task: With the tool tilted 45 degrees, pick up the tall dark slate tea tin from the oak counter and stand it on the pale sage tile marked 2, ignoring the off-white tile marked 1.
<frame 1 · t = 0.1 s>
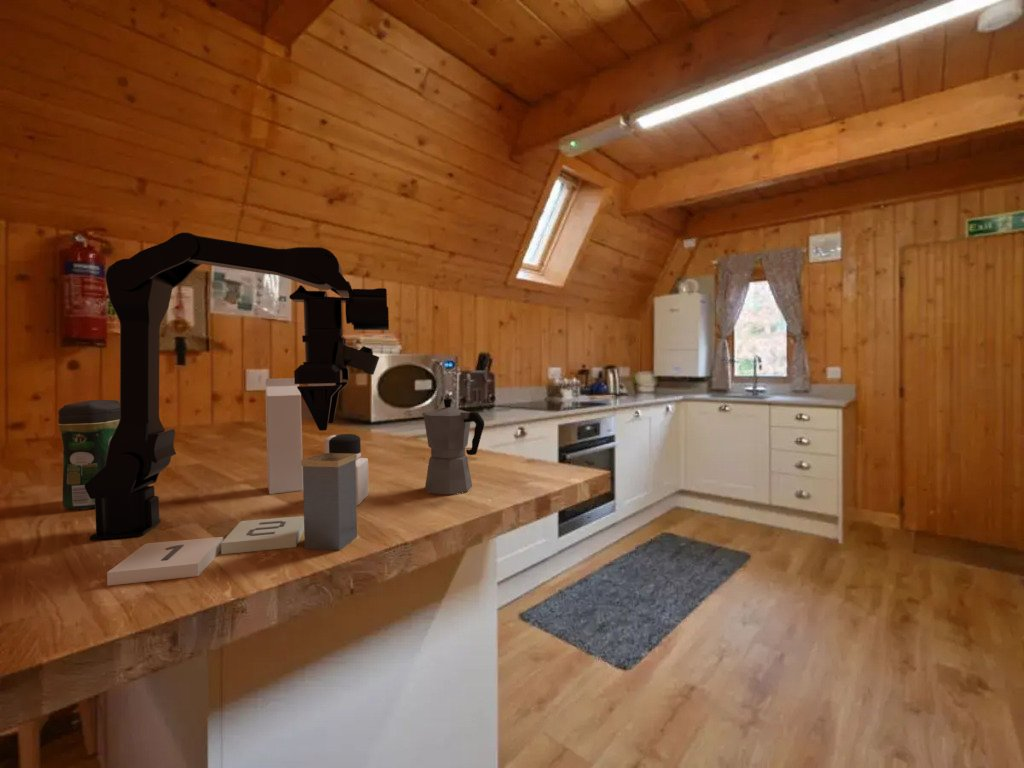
hand: (326, 426, 78), 15 cm above the table, tool pointing down, fingers open, 9 cm apart
tea tin: (331, 542, 66), on the table
milk: (285, 489, 95), on the table
coffeepot: (452, 490, 94), on the table
coffee jar: (97, 504, 86), on the table
tile 2: (267, 538, 68), on the table
tile 1: (170, 564, 59), on the table
medicine bottle: (344, 502, 87), on the table
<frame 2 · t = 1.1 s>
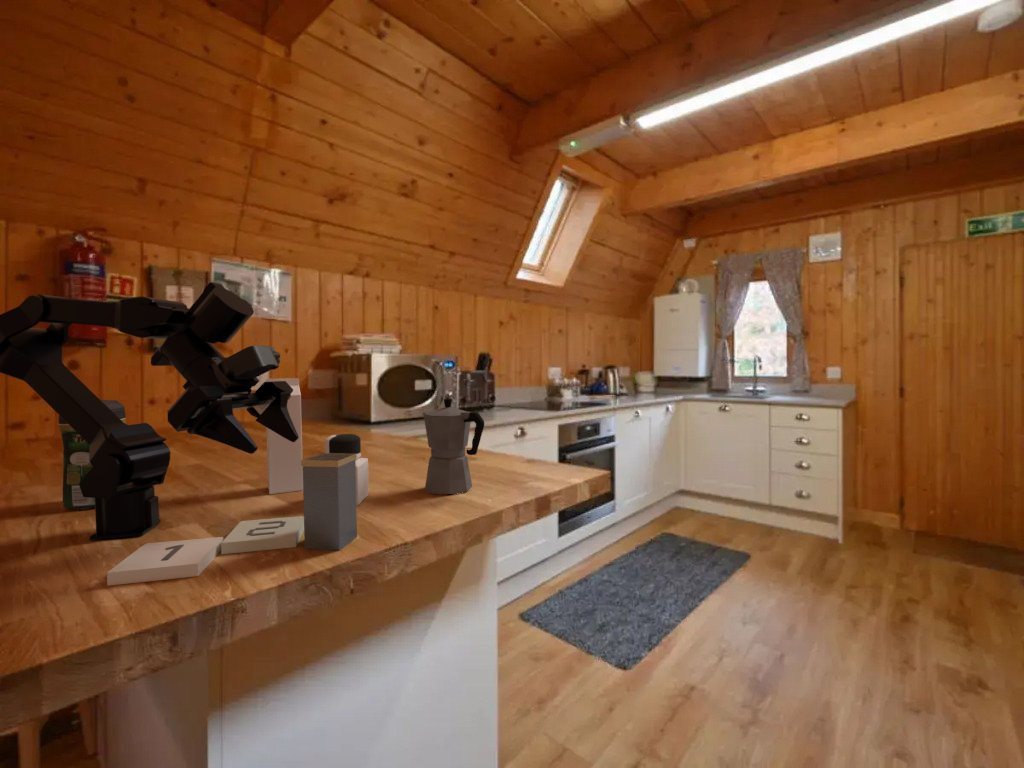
hand: (277, 445, 67), 13 cm above the table, tool tilted 45°, fingers open, 9 cm apart
nothing on the table moved.
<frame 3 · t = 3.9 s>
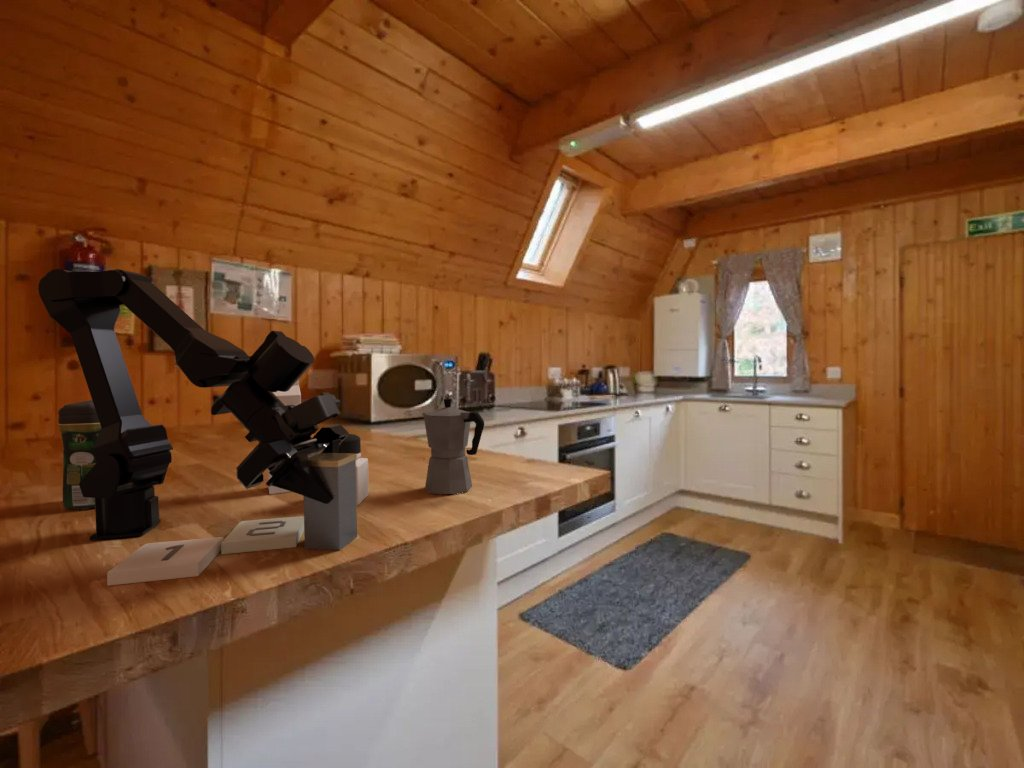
hand: (340, 495, 66), 7 cm above the table, tool tilted 45°, fingers closed on tea tin, 5 cm apart
tea tin: (331, 542, 66), on the table, touching gripper
everything else where it was.
when the fingers open (9 cm above the table, at t = 6.9 s): tea tin stays where it is, resting on tile 2.
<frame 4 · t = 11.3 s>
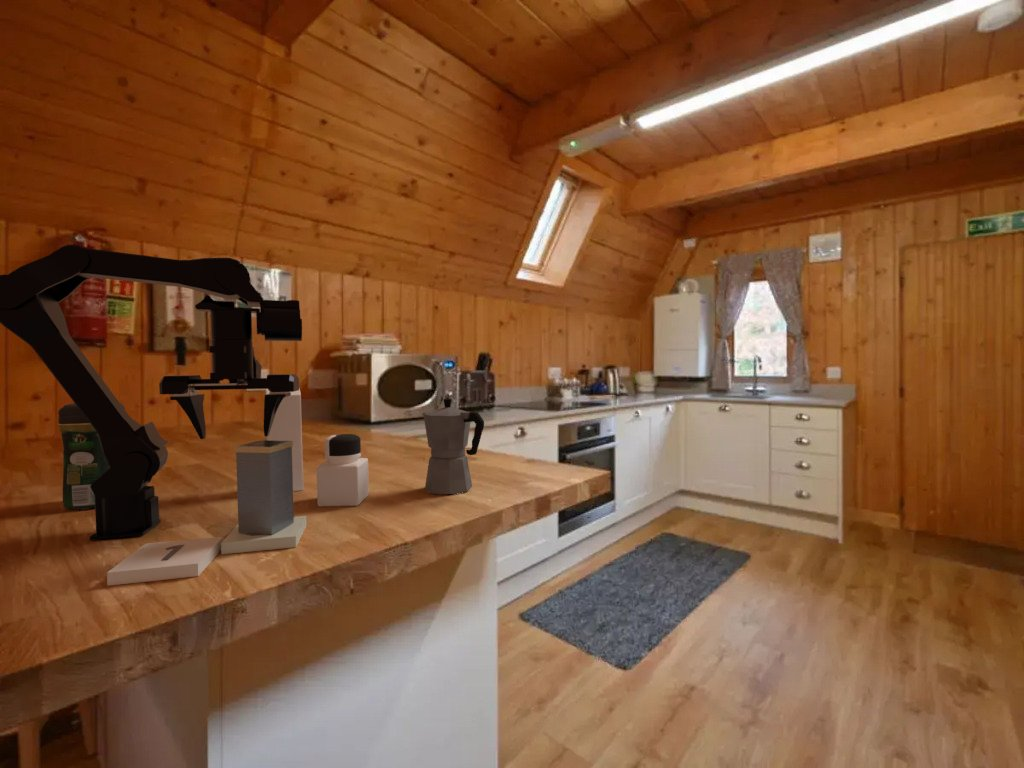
hand: (235, 437, 77), 13 cm above the table, tool pointing down, fingers open, 9 cm apart
tea tin: (267, 527, 68), point 2 cm above the table, touching tile 2
everything else where it was.
at the end: tea tin 0.0 cm from the tile 2 (horizontally); tea tin tilted 0°; the gripper is holding nothing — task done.
